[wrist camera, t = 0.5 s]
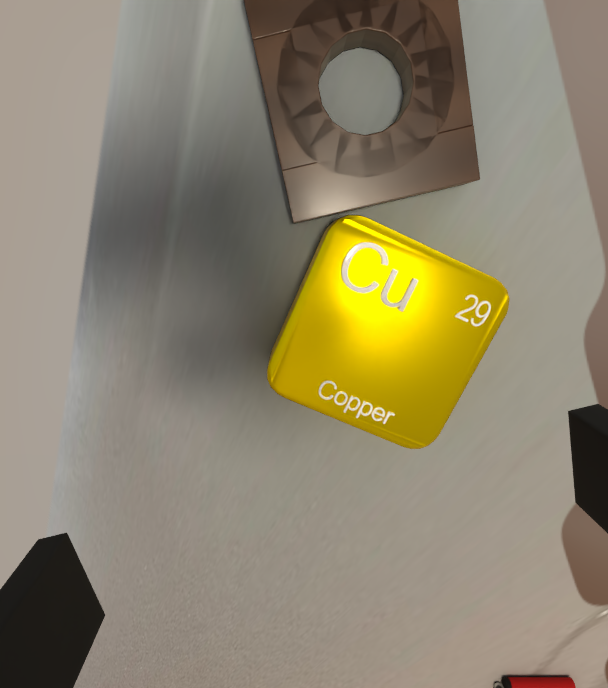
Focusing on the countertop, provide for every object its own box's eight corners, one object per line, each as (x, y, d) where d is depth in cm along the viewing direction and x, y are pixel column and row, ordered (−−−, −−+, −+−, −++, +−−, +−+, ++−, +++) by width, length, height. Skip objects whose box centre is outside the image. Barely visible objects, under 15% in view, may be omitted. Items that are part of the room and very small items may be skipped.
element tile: (261, 371, 39) (257, 390, 34) (334, 207, 36) (340, 203, 31) (414, 435, 40) (429, 461, 36) (496, 284, 37) (524, 291, 33)
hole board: (243, 0, 32) (238, -24, 29) (434, -49, 32) (449, -77, 29) (293, 223, 36) (293, 223, 33) (465, 183, 35) (480, 179, 32)
